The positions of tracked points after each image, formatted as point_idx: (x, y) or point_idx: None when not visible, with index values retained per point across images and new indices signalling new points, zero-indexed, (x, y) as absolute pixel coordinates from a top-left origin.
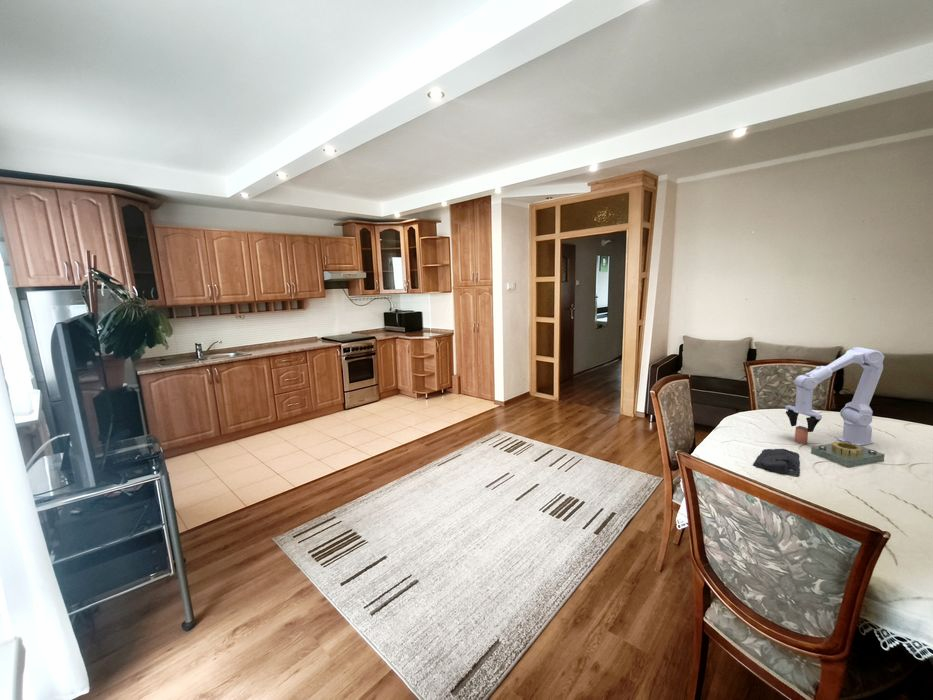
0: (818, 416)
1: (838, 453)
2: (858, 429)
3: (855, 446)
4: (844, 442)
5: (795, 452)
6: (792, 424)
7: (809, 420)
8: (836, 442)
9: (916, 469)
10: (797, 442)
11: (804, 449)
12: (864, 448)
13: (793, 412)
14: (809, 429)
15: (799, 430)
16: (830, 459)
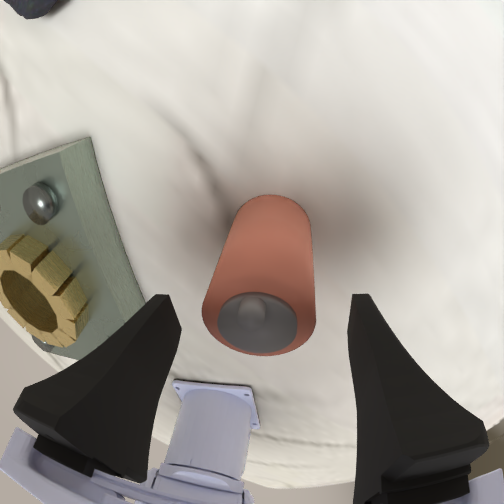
0: (3, 457)
1: (2, 219)
2: (169, 451)
3: (37, 327)
4: (68, 333)
5: (32, 3)
6: (356, 312)
7: (42, 394)
8: (59, 305)
9: (27, 337)
10: (264, 196)
11: (144, 141)
12: (78, 354)
13: (377, 487)
14: (135, 313)
15: (237, 268)
16: (13, 164)
